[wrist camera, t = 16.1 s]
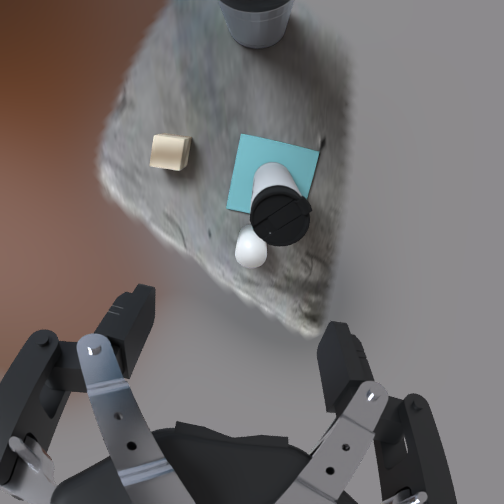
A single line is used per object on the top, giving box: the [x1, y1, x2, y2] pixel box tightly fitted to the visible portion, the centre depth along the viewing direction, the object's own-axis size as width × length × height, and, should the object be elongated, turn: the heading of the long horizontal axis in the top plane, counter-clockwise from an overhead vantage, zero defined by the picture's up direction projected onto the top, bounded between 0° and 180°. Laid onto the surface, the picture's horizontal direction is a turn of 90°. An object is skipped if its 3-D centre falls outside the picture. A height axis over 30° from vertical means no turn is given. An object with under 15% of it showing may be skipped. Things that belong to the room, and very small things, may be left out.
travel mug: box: [250, 162, 312, 246], centre depth 38 cm, size 6×7×20 cm
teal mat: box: [226, 134, 319, 213], centre depth 47 cm, size 13×13×1 cm
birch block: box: [150, 133, 192, 171], centre depth 43 cm, size 5×5×5 cm
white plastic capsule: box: [235, 224, 267, 268], centre depth 49 cm, size 5×5×7 cm
